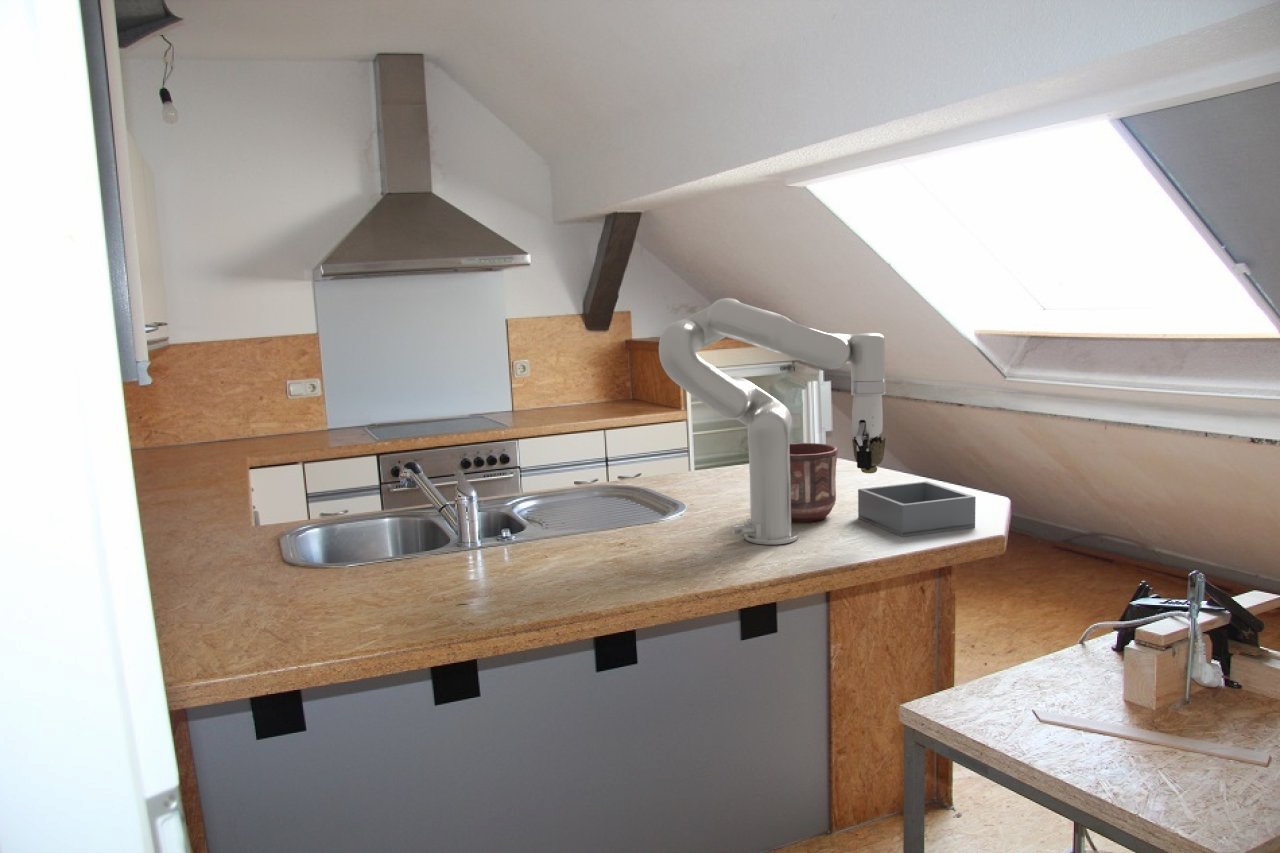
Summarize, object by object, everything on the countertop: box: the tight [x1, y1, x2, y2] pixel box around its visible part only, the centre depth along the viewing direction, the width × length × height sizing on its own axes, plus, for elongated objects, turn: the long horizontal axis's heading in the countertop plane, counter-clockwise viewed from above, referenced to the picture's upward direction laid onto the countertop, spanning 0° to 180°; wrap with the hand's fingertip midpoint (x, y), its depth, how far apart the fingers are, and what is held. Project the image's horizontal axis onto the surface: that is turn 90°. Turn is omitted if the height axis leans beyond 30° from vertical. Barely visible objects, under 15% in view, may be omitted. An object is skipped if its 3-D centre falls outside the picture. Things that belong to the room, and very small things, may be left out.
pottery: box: [790, 442, 839, 524], centre depth 246 cm, size 18×18×18 cm
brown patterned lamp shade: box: [851, 436, 886, 474], centre depth 220 cm, size 8×7×8 cm
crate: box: [857, 480, 976, 538], centre depth 237 cm, size 20×20×8 cm
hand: (869, 464), depth 221 cm, fingers closed on brown patterned lamp shade, 7 cm apart
